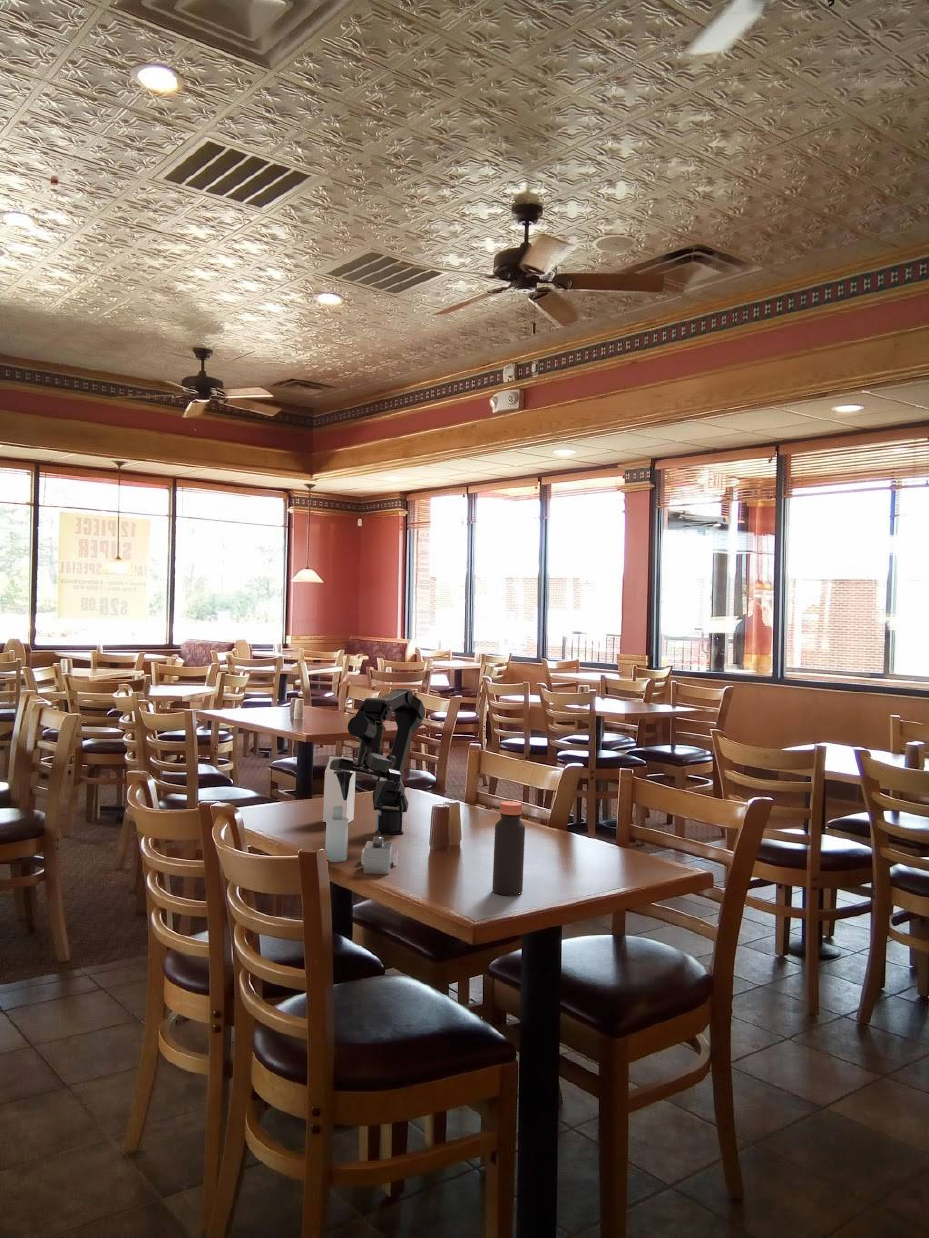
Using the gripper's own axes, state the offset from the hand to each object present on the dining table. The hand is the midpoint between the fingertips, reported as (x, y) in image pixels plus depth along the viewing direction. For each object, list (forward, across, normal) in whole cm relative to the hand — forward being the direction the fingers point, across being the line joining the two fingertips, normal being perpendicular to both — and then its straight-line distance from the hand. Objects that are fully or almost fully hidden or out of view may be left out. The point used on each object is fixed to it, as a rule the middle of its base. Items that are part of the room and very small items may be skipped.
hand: (360, 803), depth 249 cm
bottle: (+18, +17, -46) cm, 52 cm away
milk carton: (+3, +10, +32) cm, 34 cm away
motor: (+16, -1, -16) cm, 23 cm away
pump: (+15, -7, -5) cm, 17 cm away
